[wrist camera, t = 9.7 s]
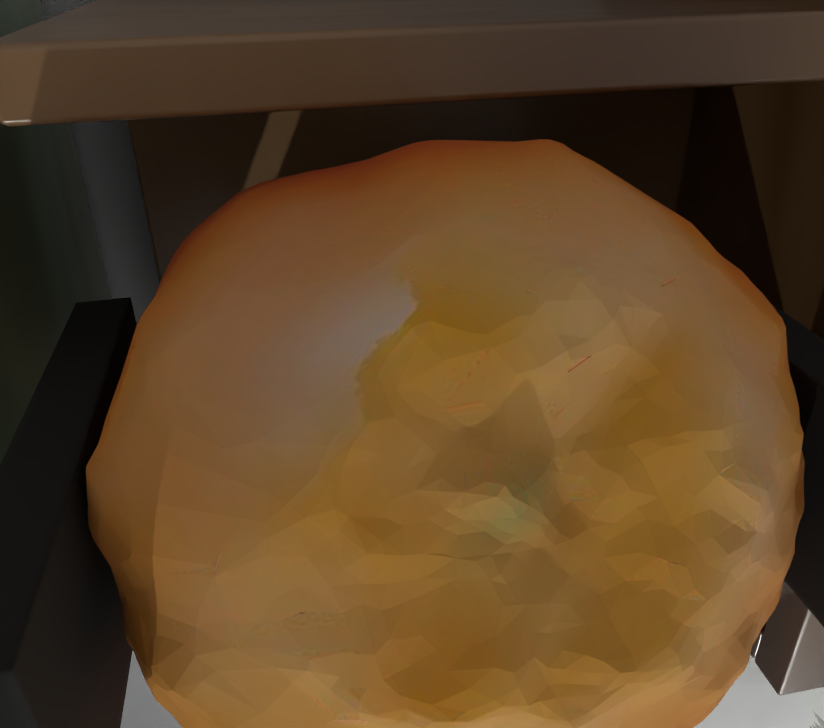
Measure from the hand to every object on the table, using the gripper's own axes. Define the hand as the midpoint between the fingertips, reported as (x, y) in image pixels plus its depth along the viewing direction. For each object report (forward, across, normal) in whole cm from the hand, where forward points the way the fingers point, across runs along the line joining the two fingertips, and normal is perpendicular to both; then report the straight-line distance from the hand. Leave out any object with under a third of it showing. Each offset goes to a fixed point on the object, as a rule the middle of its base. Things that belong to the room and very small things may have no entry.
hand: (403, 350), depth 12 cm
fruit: (0, 0, 0) cm, 0 cm away
